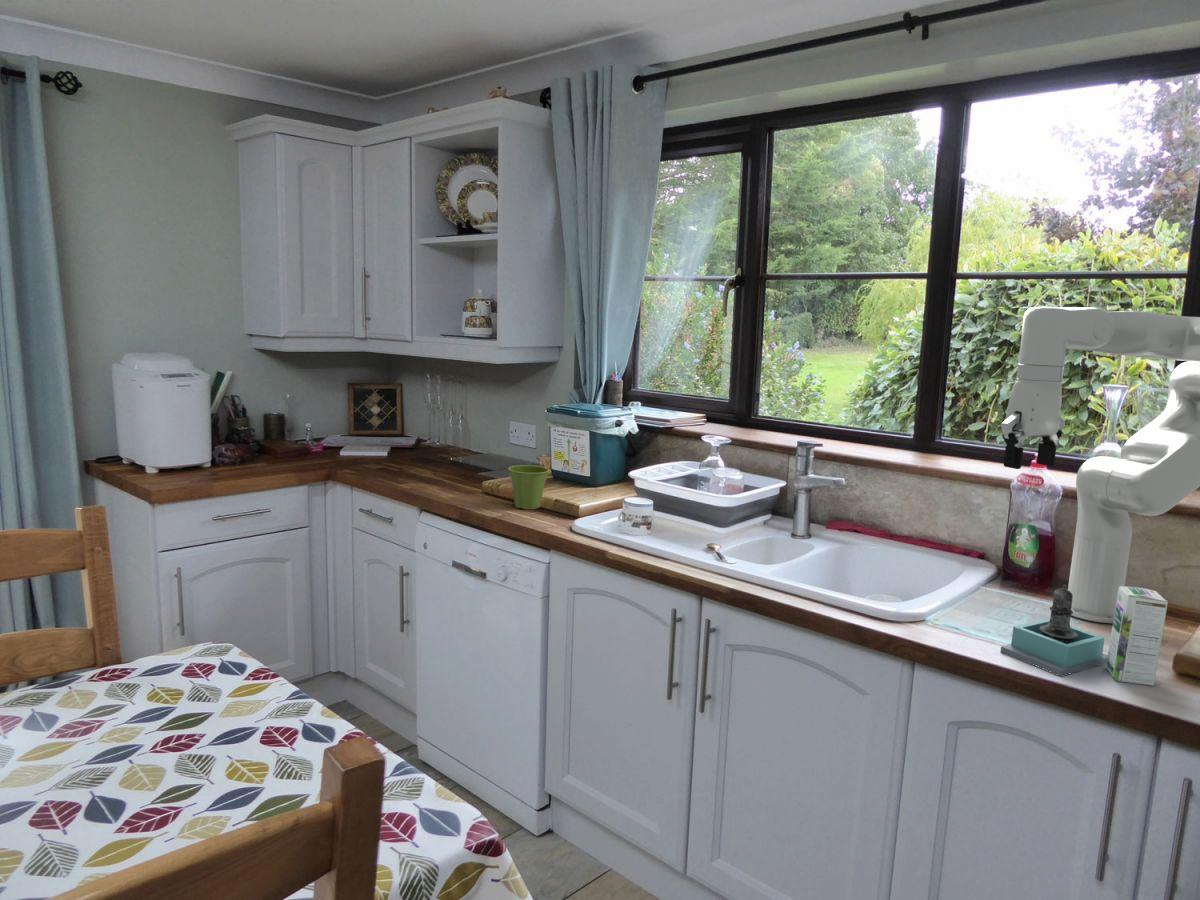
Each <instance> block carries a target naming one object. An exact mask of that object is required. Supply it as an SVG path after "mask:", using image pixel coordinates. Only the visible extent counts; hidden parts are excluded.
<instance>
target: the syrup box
mask: <svg viewBox="0 0 1200 900" xmlns="http://www.w3.org/2000/svg"><path fill="white" fill-rule="evenodd" d="M1168 604H1169V602H1168V600H1166V599H1165V598H1164V597H1163V596H1162V595H1161V594H1160V593H1159V592H1157V590H1152V589H1148V588H1144V587H1136V586H1125V587H1119V590H1118V596H1117V603H1116V609H1115V614H1114V620H1113V623H1112V626H1111V634H1110V638H1109V644H1108V645H1109V646H1108V653H1107V655H1108V659H1107V663H1106V664H1105V666H1106V667H1105V668H1106V670H1107V671H1108V672H1109V673H1110V675H1111V676H1112V678H1113V679H1114V680H1115V681H1116V682H1122V683H1130V684H1137V685H1144V686H1152V687H1153V686H1155V681H1156V675H1157V669H1158V664H1159V658H1160V651H1161V646H1162V645H1161V644H1162V641H1163V640H1162V639H1163V634H1164V627H1165V622H1166V621H1165V620H1166V616H1167V609H1168Z"/></svg>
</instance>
